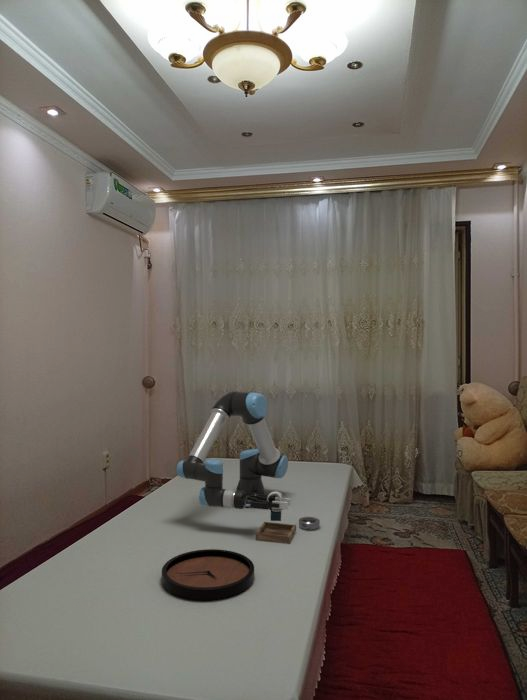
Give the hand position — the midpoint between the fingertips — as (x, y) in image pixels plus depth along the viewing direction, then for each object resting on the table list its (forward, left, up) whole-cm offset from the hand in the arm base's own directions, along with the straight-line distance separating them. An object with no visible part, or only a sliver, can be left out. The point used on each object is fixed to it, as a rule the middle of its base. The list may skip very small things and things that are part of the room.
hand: (288, 504), depth 213 cm
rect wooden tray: (+1, -5, -14) cm, 15 cm away
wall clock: (+46, -11, -14) cm, 50 cm away
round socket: (-15, +4, -14) cm, 21 cm away
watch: (+1, -5, -7) cm, 9 cm away
